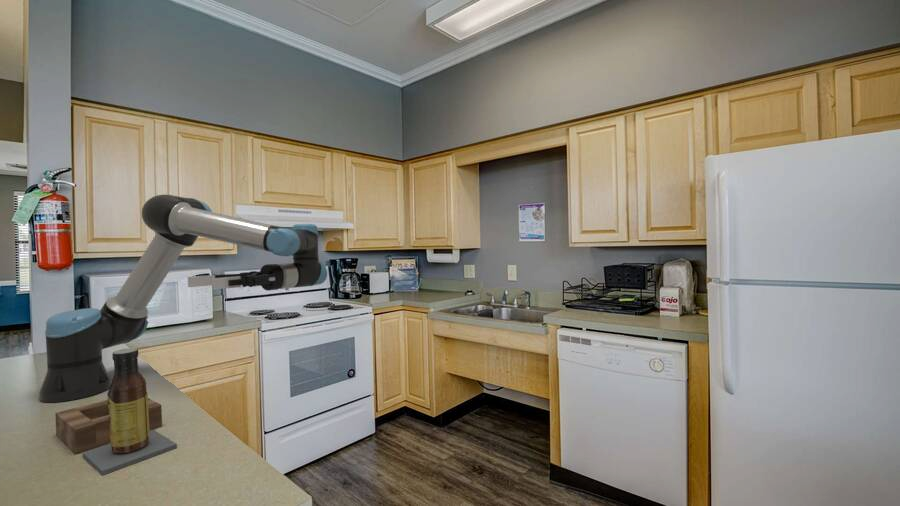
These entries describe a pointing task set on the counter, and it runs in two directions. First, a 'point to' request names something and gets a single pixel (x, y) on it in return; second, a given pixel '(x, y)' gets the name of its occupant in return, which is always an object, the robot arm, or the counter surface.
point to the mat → (127, 454)
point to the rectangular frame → (94, 425)
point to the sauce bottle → (128, 404)
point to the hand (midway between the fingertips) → (200, 283)
